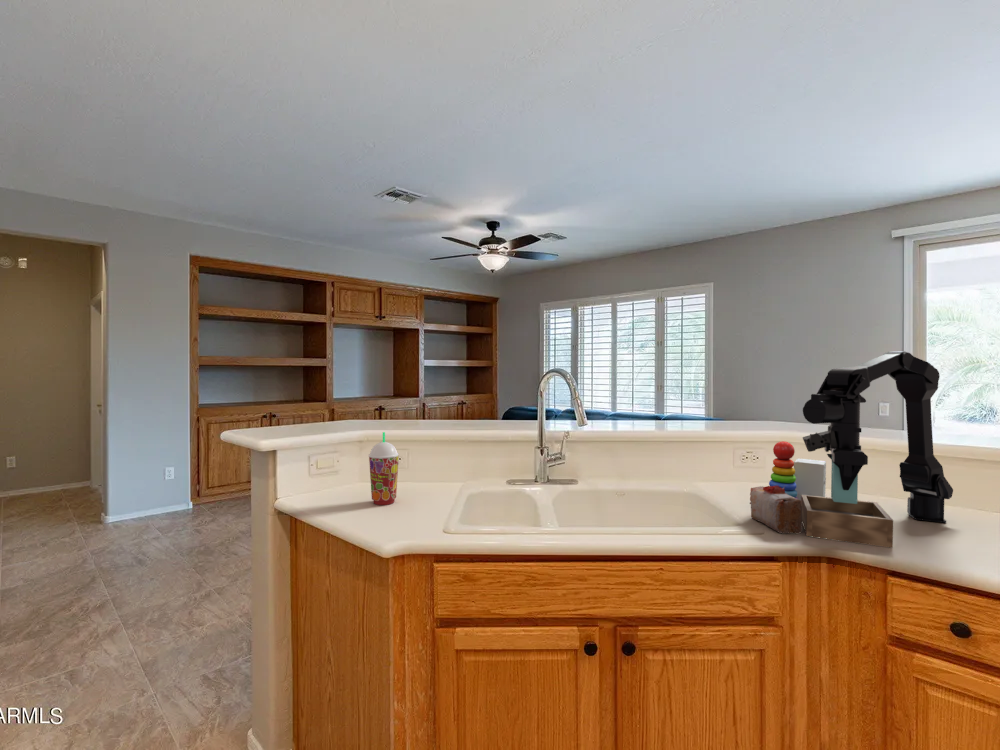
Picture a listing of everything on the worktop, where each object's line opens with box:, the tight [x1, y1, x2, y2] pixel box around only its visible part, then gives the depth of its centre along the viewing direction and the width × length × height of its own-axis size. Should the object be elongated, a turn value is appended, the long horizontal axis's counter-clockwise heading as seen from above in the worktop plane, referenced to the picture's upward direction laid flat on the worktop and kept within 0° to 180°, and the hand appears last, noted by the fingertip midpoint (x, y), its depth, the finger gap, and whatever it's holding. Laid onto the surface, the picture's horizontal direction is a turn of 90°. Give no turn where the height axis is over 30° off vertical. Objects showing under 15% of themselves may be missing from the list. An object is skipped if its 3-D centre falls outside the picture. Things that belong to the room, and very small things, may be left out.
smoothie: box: [368, 431, 400, 506], centre depth 146 cm, size 8×8×20 cm
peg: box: [830, 458, 859, 504], centre depth 122 cm, size 5×5×10 cm
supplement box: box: [793, 458, 827, 500], centre depth 144 cm, size 7×7×13 cm
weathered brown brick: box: [749, 485, 803, 534], centre depth 127 cm, size 14×8×10 cm, turn 3°
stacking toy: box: [768, 441, 798, 499], centre depth 140 cm, size 8×8×19 cm
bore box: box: [801, 495, 894, 549], centre depth 122 cm, size 16×16×6 cm
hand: (843, 487), depth 122 cm, fingers closed on peg, 5 cm apart
